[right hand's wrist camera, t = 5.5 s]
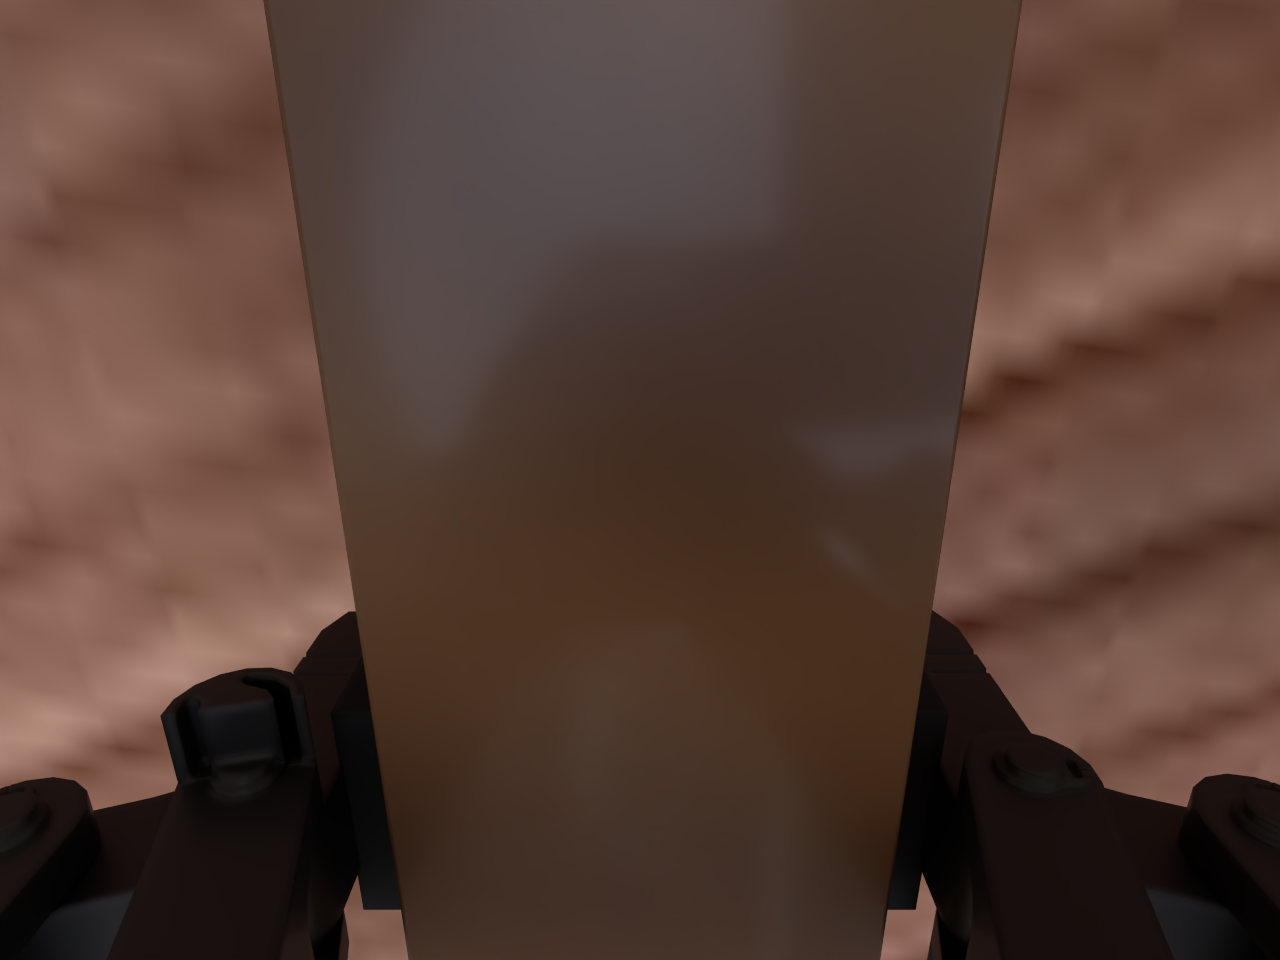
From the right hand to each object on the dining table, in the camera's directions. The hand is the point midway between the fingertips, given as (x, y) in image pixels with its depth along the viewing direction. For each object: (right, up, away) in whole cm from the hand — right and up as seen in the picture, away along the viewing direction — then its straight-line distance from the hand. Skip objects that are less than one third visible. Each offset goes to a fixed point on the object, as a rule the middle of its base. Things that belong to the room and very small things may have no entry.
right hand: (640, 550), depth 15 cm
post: (0, +26, -9) cm, 27 cm away
